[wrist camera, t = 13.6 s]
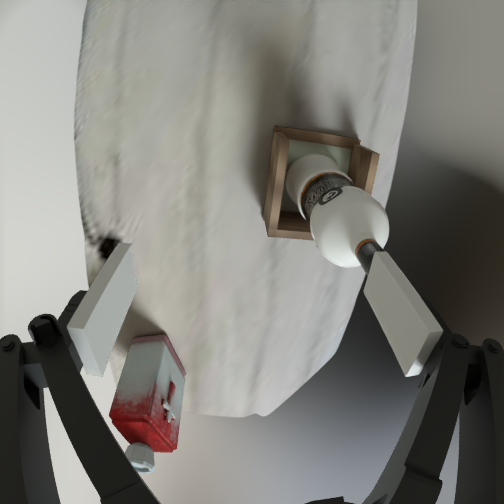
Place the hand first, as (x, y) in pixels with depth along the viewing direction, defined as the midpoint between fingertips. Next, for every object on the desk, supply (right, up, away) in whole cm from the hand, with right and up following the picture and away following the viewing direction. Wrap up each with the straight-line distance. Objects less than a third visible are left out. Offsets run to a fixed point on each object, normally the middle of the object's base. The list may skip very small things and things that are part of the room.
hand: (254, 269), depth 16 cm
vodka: (+10, +13, +34) cm, 37 cm away
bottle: (-22, -23, +53) cm, 62 cm away
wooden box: (+10, +13, +35) cm, 38 cm away
